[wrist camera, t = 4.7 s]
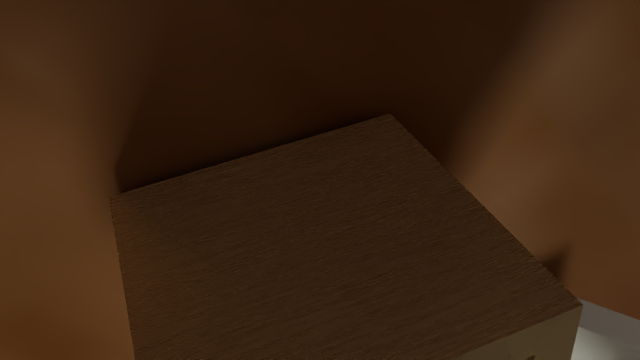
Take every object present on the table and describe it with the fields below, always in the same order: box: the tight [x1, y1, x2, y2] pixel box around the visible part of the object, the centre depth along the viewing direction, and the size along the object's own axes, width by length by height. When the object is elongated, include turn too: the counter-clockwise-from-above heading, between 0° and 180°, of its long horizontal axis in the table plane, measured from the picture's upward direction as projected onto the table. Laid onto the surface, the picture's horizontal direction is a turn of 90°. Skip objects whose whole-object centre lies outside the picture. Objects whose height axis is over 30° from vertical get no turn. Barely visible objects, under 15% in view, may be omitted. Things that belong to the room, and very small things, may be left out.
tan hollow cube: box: [109, 114, 583, 360], centre depth 12 cm, size 6×6×6 cm
